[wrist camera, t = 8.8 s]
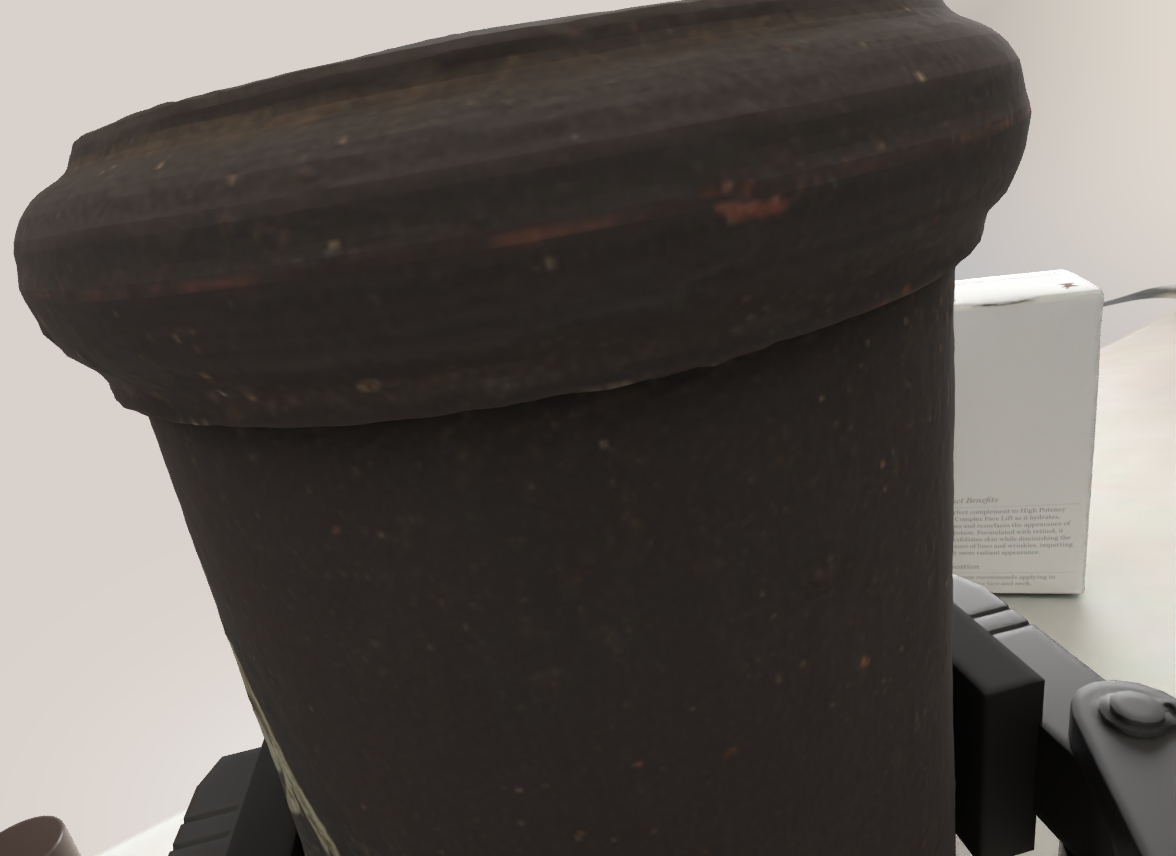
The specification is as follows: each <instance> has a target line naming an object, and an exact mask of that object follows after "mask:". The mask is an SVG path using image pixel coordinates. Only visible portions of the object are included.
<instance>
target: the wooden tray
mask: <svg viewBox="0 0 1176 856" xmlns="http://www.w3.org/2000/svg"><path fill="white" fill-rule="evenodd" d="M0 856H81V855H80V853H79V851H78V849H77V847H76V845H75V844H74V842H73V840H72V838H71V836H70V834H69V832H68V830H67V828H66V827H65V825H64V823H63V822H62V821H61V820H60V819H58V818H56V817H54V816H40V817H34V818H31V819H28V820H25V821H22V822H20V823H17V824H15V825H13V826H11V827H9V828H7V829H6V830H4V831H2V832H0Z"/></svg>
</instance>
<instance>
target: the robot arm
mask: <svg viewBox="0 0 1176 856" xmlns="http://www.w3.org/2000/svg"><path fill="white" fill-rule="evenodd" d="M952 676H953V732H954V763H955V781H956V788H955V804H956V806H955V833H956V834H957V835H958V837H959V838H960V839H961V841H962V842H963V843H964V845H965V846H966V847H967V848H968V850H969V851H970V852H971V854H972V855H973V856H1015V855H1018V854H1021V853H1025V852H1028V851H1031V850H1034V841H1035V826H1036V815H1037V816H1038V817H1039V818H1040V819H1041V821H1042V822H1043V823H1044V824H1045V825H1046V826H1047V827H1048V828H1049V829H1050V830H1051V831H1052V833H1053V834H1054V835H1055V836H1056V837H1057V838H1058V839H1059V840H1060V841H1059V853H1058V856H1176V699H1175V698H1174V697H1172V696H1170V695H1168V694H1167V693H1165V692H1163V691H1160V690H1157V689H1154V688H1151V687H1148V686H1145V685H1142V684H1139V683H1132V682H1125V681H1117V680H1109V681H1105V680H1104V679H1103V678H1101V677H1100V676H1099V675H1098V674H1096V673H1095V672H1094V671H1092V670H1091V669H1090V668H1089V667H1087V666H1086V665H1085V664H1083V663H1082V662H1081V661H1079V660H1078V659H1077V658H1076V657H1074V656H1073V655H1072V654H1070V653H1069V652H1068V651H1067V650H1065V649H1064V648H1063V647H1061V646H1060V645H1059V644H1057V643H1056V642H1055V641H1054V640H1052V639H1051V638H1050V637H1048V636H1047V635H1046V634H1044V633H1043V632H1042V631H1041V630H1039V629H1038V628H1037V627H1035V626H1034V625H1029V623H1028V620H1026V619H1025V618H1024V617H1022V616H1021V615H1020V614H1019V613H1017V612H1016V611H1015V610H1013V609H1011V610H1010V609H1009V608H1008V605H1007V604H1006V603H1004V602H1003V601H1002V600H1000V599H999V598H998V597H997V596H995V595H994V594H993V593H991V592H990V591H989V590H988V589H986V588H985V587H983V586H981V585H979V584H976V583H974V582H971V581H969V580H966V579H964V578H962V577H959V576H957V575H954V574H953V632H952ZM168 856H305V853H304V850H303V846H302V842H301V839H300V837H299V834H298V831H297V828H296V825H295V822H294V819H293V817H292V814H291V811H290V808H289V805H288V802H287V799H286V795H285V792H284V790H283V787H282V784H281V780H280V777H279V775H278V772H277V769H276V767H275V764H274V761H273V758H272V756H271V753H270V750H269V747H268V745H267V743H266V740H265V738H264V741H263V744H262V747H260V748H256V749H252V750H248V751H244V752H240V753H236V754H232V755H228V756H224V757H222V758H221V759H220V760H219V761H218V762H217V764H216V765H215V766H214V767H213V768H212V770H211V771H210V772H209V773H208V774H207V776H206V777H205V778H204V779H203V780H202V782H201V783H200V784H199V785H198V786H197V788H196V790H195V793H194V795H193V797H192V800H191V802H190V805H189V807H188V809H187V812H186V814H185V817H184V824H183V825H181V826H180V829H179V831H178V834H177V836H176V838H175V841H174V843H173V851H171V852H170V853H169V855H168Z"/></svg>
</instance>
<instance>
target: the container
mask: <svg viewBox="0 0 1176 856" xmlns="http://www.w3.org/2000/svg"><path fill="white" fill-rule="evenodd" d="M1030 118H1031V108H1030V103H1029V99H1028V96H1027V92H1026V88H1025V83H1024V78H1023V73H1022V68H1021V64H1020V59H1019V58H1018V56H1017V55H1016V53H1015V52H1014V50H1013V49H1012V47H1011V46H1010V44H1009V43H1008V42H1007V41H1006V40H1005V39H1004V38H1003V37H1002V36H1001V35H1000V34H998V33H997V32H995V31H994V30H993V29H991V28H989V27H987V26H985V25H983V24H981V23H979V22H976V21H973V20H970V19H968V18H965V17H962V16H959V15H958V14H956V13H954V12H953V11H951V10H950V9H949V8H948V7H947V6H946V5H945V3H944V2H943V0H682V1H676V2H667V3H660V4H654V5H647V6H639V7H631V8H626V9H620V10H615V11H607V12H597V13H589V14H582V15H574V16H568V17H561V18H555V19H548V20H541V21H535V22H528V23H521V24H515V25H508V26H501V27H494V28H488V29H483V30H477V31H469V32H465V33H461V34H453V35H448V36H445V37H440V38H435V39H429V40H425V41H422V42H418V43H414V44H410V45H405V46H401V47H397V48H393V49H387V50H384V51H381V52H377V53H372V54H369V55H365V56H361V57H358V58H354V59H350V60H345V61H341V62H336V63H332V64H327V65H322V66H318V67H313V68H308V69H304V70H299V71H294V72H290V73H286V74H282V75H279V76H275V77H272V78H268V79H264V80H259V81H255V82H252V83H248V84H245V85H241V86H237V87H232V88H228V89H223V90H217V91H213V92H210V93H206V94H203V95H199V96H194V97H190V98H187V99H184V100H180V101H178V102H167V103H163V104H160V105H157V106H155V107H153V108H150V109H147V110H144V111H140V112H137V113H134V114H131V115H129V116H126V117H124V118H122V119H120V120H118V121H116V122H114V123H112V124H109V125H107V126H104V127H102V128H100V129H97V130H95V131H92V132H89V133H86V134H85V135H83V136H81V137H80V138H79V139H78V140H76V141H75V142H74V143H73V146H72V151H71V155H70V158H69V163H68V167H67V170H66V172H65V173H64V175H63V176H61V177H60V178H59V179H58V180H57V181H56V182H55V183H53V184H51V185H50V186H49V187H47V188H46V189H44V190H43V191H42V192H40V193H39V194H38V195H37V196H36V197H35V198H34V199H33V200H32V201H31V202H30V204H29V205H28V207H27V208H26V210H25V211H24V213H23V215H22V217H21V219H20V221H19V224H18V227H17V230H16V234H15V240H14V257H15V261H16V264H17V272H18V283H19V290H20V292H21V294H22V296H23V298H24V300H25V302H26V303H27V305H28V307H29V308H30V310H31V312H32V313H33V315H34V316H35V318H36V320H37V321H38V323H39V326H40V328H41V330H42V333H43V334H44V335H45V336H46V337H47V338H48V339H50V340H51V341H52V342H53V343H55V344H56V345H57V346H58V347H59V348H60V349H62V351H63V352H64V353H65V354H66V355H67V356H68V357H70V358H72V359H74V360H76V361H78V362H80V363H82V364H84V365H86V366H87V367H90V368H91V369H93V370H95V371H97V372H98V373H100V374H101V375H102V376H103V377H104V378H105V379H106V380H107V381H108V382H109V385H110V388H111V390H112V392H113V394H114V396H115V399H116V400H117V401H118V402H119V403H120V404H121V405H122V406H123V407H124V408H127V409H130V410H135V411H137V412H139V413H141V414H144V415H146V416H149V419H150V422H151V425H152V428H153V430H154V432H155V435H156V438H157V441H158V443H159V447H160V450H161V452H162V455H163V458H164V461H165V464H166V467H167V469H168V472H169V474H170V477H171V480H172V483H173V486H174V489H175V492H176V494H177V497H178V499H179V502H180V504H181V508H182V511H183V514H184V517H185V521H186V524H187V527H188V530H189V533H190V535H191V537H192V540H193V543H194V546H195V549H196V552H197V554H198V557H199V559H200V561H201V564H202V567H203V570H204V573H205V575H206V578H207V581H208V584H209V586H210V589H211V592H212V594H213V597H214V600H215V603H216V605H217V608H218V612H219V615H220V619H221V622H222V624H223V627H224V631H225V634H226V636H227V638H228V640H229V642H230V645H231V647H232V650H233V653H234V655H235V658H236V661H237V664H238V666H239V669H240V672H241V675H242V678H243V682H244V685H245V688H246V691H247V694H248V697H249V700H250V702H251V704H252V707H253V711H254V713H255V715H256V717H257V719H258V722H259V724H260V727H261V730H262V733H263V735H264V738H265V740H266V743H267V745H268V747H269V750H270V753H271V756H272V758H273V761H274V764H275V767H276V769H277V772H278V775H279V777H280V780H281V784H282V787H283V790H284V792H285V795H286V799H287V802H288V805H289V808H290V811H291V814H292V817H293V819H294V822H295V825H296V828H297V831H298V834H299V837H300V839H301V842H302V846H303V850H304V853H305V856H956V851H955V850H956V838H955V806H956V804H955V788H956V781H955V763H954V732H953V676H952V632H953V543H954V460H953V453H954V428H955V363H954V352H955V338H954V290H955V279H954V278H955V267H956V266H957V264H958V263H959V262H960V261H962V260H963V259H964V258H966V257H967V256H968V255H969V254H970V253H971V252H972V251H973V250H974V248H975V247H976V246H977V244H978V243H979V242H980V240H981V236H982V234H983V230H984V223H985V219H986V216H987V213H988V211H989V210H990V209H991V208H992V206H993V205H995V204H996V203H997V202H998V201H999V200H1000V198H1001V197H1002V196H1003V195H1004V194H1005V193H1006V191H1007V190H1008V187H1009V185H1010V183H1011V182H1012V179H1013V177H1014V175H1015V173H1016V171H1017V169H1018V166H1019V164H1020V161H1021V159H1022V156H1023V153H1024V150H1025V146H1026V141H1027V135H1028V130H1029V124H1030Z"/></svg>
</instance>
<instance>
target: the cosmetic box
mask: <svg viewBox="0 0 1176 856" xmlns="http://www.w3.org/2000/svg"><path fill="white" fill-rule="evenodd" d="M1103 302H1104V294H1103V292H1102V290H1101V289H1100V288H1098V287H1096V286H1095V285H1094V284H1092V283H1091V282H1089V281H1086V280H1084V279H1083V278H1081V277H1079V276H1078V275H1076V274H1074V273H1072V272H1070V271H1066V270H1064V269H1061V270H1053V271H1043V272H1033V273H1023V274H1013V275H1005V276H1004V275H1003V276H995V277H985V278H976V279H967V280H958V281H955V290H954V338H955V352H954V363H955V428H954V453H953V460H954V543H953V574H954V575H957V576H959V577H962V578H964V579H966V580H969V581H971V582H974V583H976V584H979V585H981V586H983V587H985V588H986V589H988V590H989V591H990V592H991V593H1056V594H1066V593H1075V594H1080V593H1083V591H1084V589H1085V585H1084V583H1085V567H1086V551H1087V538H1088V523H1089V509H1090V496H1091V481H1092V466H1093V452H1094V438H1095V423H1096V407H1097V392H1098V376H1099V356H1100V330H1101V321H1102V311H1103Z"/></svg>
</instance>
